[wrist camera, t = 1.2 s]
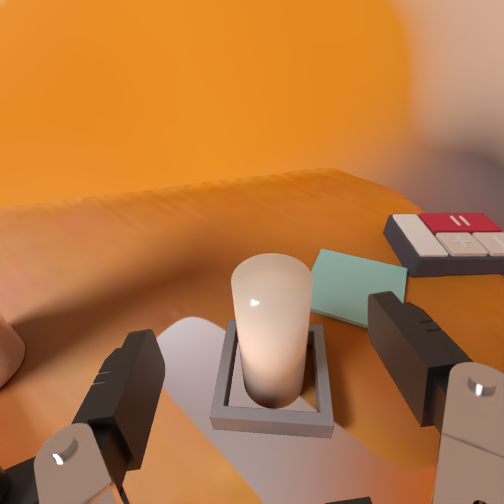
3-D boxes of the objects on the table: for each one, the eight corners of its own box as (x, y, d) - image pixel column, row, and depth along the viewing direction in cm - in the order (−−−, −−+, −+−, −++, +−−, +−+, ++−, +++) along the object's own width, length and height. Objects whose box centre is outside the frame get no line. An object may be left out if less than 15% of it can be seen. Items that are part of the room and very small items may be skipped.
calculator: (537, 254, 39) (420, 254, 39) (518, 278, 42) (409, 278, 42) (484, 210, 48) (389, 210, 48) (472, 232, 50) (381, 233, 50)
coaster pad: (295, 306, 38) (295, 303, 38) (321, 251, 47) (321, 248, 46) (398, 338, 34) (399, 335, 34) (406, 271, 42) (407, 268, 42)
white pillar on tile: (304, 410, 29) (316, 311, 20) (240, 406, 29) (224, 308, 20) (301, 337, 35) (309, 237, 26) (248, 334, 36) (239, 236, 27)
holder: (330, 438, 27) (334, 426, 25) (213, 429, 28) (209, 416, 26) (320, 338, 35) (322, 323, 33) (230, 333, 36) (228, 320, 34)
